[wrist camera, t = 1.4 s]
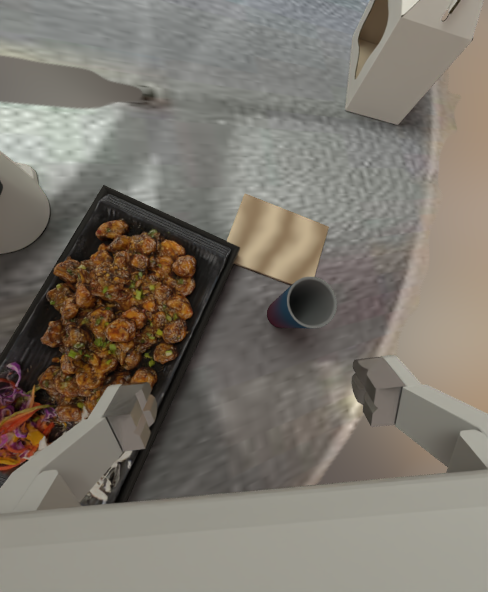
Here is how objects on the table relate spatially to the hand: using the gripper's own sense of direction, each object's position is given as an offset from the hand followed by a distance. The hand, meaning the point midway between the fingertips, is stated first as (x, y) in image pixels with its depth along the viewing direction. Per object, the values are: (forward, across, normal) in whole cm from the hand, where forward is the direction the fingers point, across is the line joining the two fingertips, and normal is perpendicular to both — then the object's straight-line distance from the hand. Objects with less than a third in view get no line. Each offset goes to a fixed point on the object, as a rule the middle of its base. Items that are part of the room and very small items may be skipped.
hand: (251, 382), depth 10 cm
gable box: (+69, -35, -24) cm, 81 cm away
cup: (+34, -5, +17) cm, 38 cm away
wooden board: (+42, -6, +5) cm, 43 cm away
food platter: (+28, +23, +15) cm, 39 cm away
